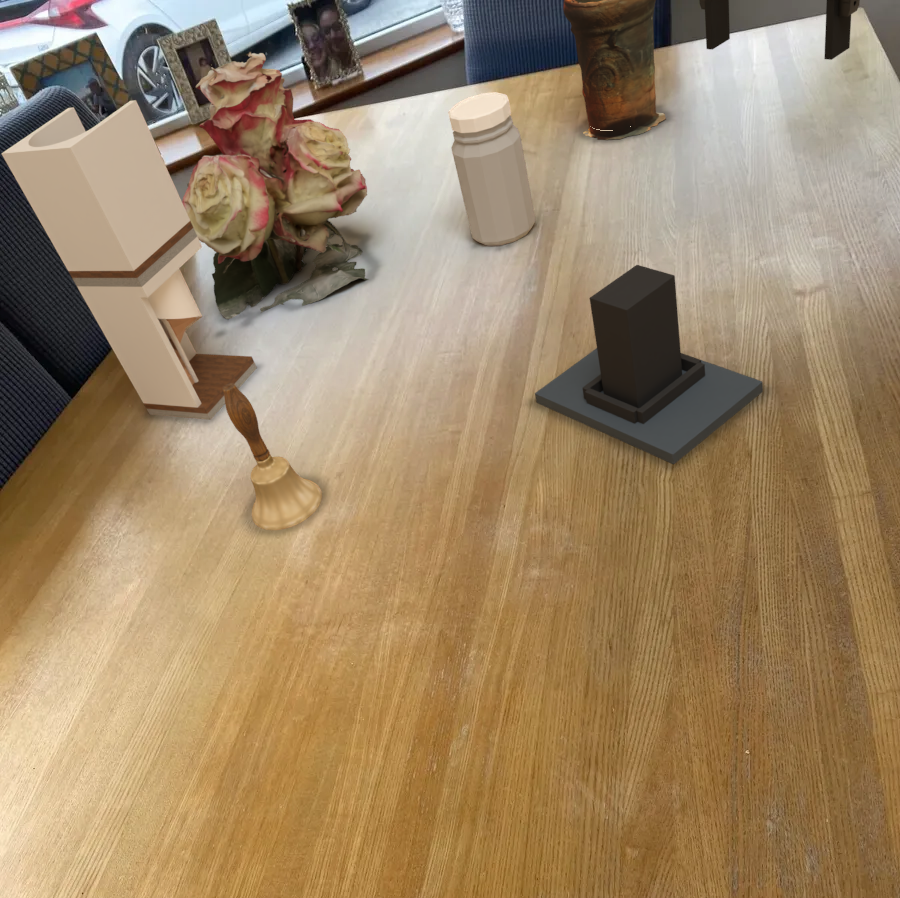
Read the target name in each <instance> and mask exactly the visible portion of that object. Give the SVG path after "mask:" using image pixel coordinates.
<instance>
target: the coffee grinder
mask: <svg viewBox="0 0 900 898" xmlns="http://www.w3.org/2000/svg"><path fill="white" fill-rule="evenodd" d="M1 155H2V157H3V159H4V161H5V163H6V165H7V166H8V167H9V170H10V172H11V173H12V175H13V176H14V178H15V180H16V182H17V183H18V186H19V187H20V190H21V191H22V192H23V194H24V196H25V198H26V200H27V201H28V203H29V205H30V207H31V208H32V210H33V212H34V213H35V216H36V217H37V219H38V220H39V223H40V224H41V226H42V228H43V229H44V231H45V233H46V234H47V236H48V238H49V240H50V242H51V243H52V245H53V247H54V249H55V250H56V253H57V254H58V256H59V257H60V260H61V261H62V263H63V264H64V266H65V268H66V270H67V271H68V273H69V275H70V277H71V279H72V281H73V282H74V284H75V285H76V288H77V289H78V291H79V293H80V294H81V296H82V298H83V300H84V302H85V303H86V305H87V307H88V309H89V310H90V312H91V314H92V316H93V317H94V319H95V321H96V322H97V324H98V326H99V328H100V329H101V331H102V333H103V335H104V337H105V339H106V340H107V342H108V344H109V346H110V348H111V349H112V350H113V352H114V354H115V356H116V358H117V360H118V361H119V363H120V365H121V366H122V368H123V370H124V372H125V374H126V375H127V377H128V379H129V381H130V382H131V384H132V386H133V387H134V389H135V391H136V394H137V395H138V396H139V398H140V400H141V402H142V404H143V405H144V407H145V409H146V411H147V413H148V414H149V415H151V416H160V417H161V416H162V417H174V418H185V419H194V420H195V419H197V420H207V421H212V419H213V418H214V417H215V416H216V415H217V414H218V412H219V411H220V410H221V409H222V408H223V407H224V406H225V397H224V392H223V387H224V386H225V385H227V384H229V383H233V384H235V386H236V387H237V388H238V389H239V390H240V388H241V387H242V385H243V384H245V382H246V381H247V380H248V379H249V378H250V377H251V376H252V374H253V373H254V372H255V371H256V370H257V369H258V367H257V365H256V363H255V361H254V358H253V356H251V355H232V354H231V355H228V354H212V353H211V354H208V353H197V352H196V349H195V348H194V345H193V344H192V342H191V340H190V338H189V336H188V334H187V332H186V331H187V330H188V329H189V328H190V327H192V326H193V325H194V324H195V323H197V322H198V321H199V320H200V319H201V318H203V315H202V313H201V310H200V309H199V306H198V304H197V302H196V300H195V297H194V296H193V294H192V291H191V290H190V288H189V286H188V284H187V281H186V279H185V277H184V274H183V273H182V271H181V267H182V266H184V265H185V264H186V262H188V261H189V260H190V259H191V258H192V257H194V255H195V254H196V253H198V252H199V251H200V250H201V249H202V248H203V246H202V242H201V241H200V240H199V239H198V236H197V234H196V232H195V230H194V228H193V225H192V223H191V221H190V219H189V217H188V214H187V212H186V210H185V208H184V205H183V203H182V199H181V197H180V194H179V192H178V190H177V188H176V186H175V184H174V181H173V179H172V177H171V175H170V172H169V171H168V170H169V169H168V168H167V165H166V164H165V162H164V159H163V157H162V155H161V152H160V151H159V148H158V146H157V144H156V141H155V139H154V137H153V134H152V132H151V130H150V129H149V126H148V124H147V122H146V119H145V117H144V114H143V113H142V111H141V108H140V106H139V104H138V101H137V100H136V99H135V100H129V101H128V102H127V103H125V104H124V105H123V106H120V107H119V108H118V109H117V110H116V111H114V112H112V113H111V114H110V115H108V116H107V117H105V118H104V119H102V121H100V122H98V123H97V124H96V125H94V126H93V127H91V128H90V129H87V130H86V129H85V127H84V125H83V123H82V121H81V119H80V117H79V115H78V114H77V111H76V109H75V107H74V106H73V107H67V108H65V110H63V111H62V112H60V113H58V114H57V115H56V116H54V117H52V119H50V120H48V121H47V122H46V123H44V124H43V125H41V126H40V127H38V128H37V129H35V130H34V131H32V132H31V133H30V134H27V136H25V137H24V138H22V139H21V140H19V141H18V142H16V143H15V144H13V145H11V146H10V147H9V148H7V149H6V150H4V151H3V152H2V153H1Z"/></svg>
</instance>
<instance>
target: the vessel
mask: <svg viewBox="0 0 900 898" xmlns="http://www.w3.org/2000/svg"><path fill="white" fill-rule="evenodd" d="M656 1H657V0H563V8H562V9H563V14H564V17H565V19H567V20H568V22H569V23H570V25H571V27H570V32H571V33H572V34H573V36H574V40H575V47H576V54H577V61H578V64H579V68H580V73H581V82H582V88H581V89H582V91H581V93H582V97H583V100H584V106H585V111H586V117H587V122H588V129H587V130H586V131H583V132H582V133H583V135H585V136H586V137H590V138H596V139H597V140H606V141H609V140H622V139H624V138H626V137H632V136H638V135H642V134H645V133H646V132H648V131H650V130H652V128H651V127H656V126H658V125H659V123H661V122H663V121H664V120H666V119H667V117H666V114H665V113H663V112H657V105H656V103H657V101H656V100H657V99H656V96H657V95H656V82H655V81H656V79H655V75H656V74H655V73H656V67H655V66H656V65H655V64H656V63H655V33H654V15H655V7H656ZM590 126H591V127H590ZM630 126H631V127H630ZM592 127H593V128H595V129H593V128H592ZM596 129H600V130H613V131H600V130H596Z"/></svg>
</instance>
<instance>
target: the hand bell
mask: <svg viewBox="0 0 900 898" xmlns="http://www.w3.org/2000/svg"><path fill="white" fill-rule="evenodd" d="M223 392H224V397H225V404H224V406H225V409H226V410H225V411H226V413H227V416H228V417H229V420H230V421H231V423H232V424H233V427H234V428H235V429H236V431H237V432H238V433H239V434H240V435H242V437H243V438H244V439H245V440H246V442H247V445H248V447H249V448H250V451H251V453H252V455H253V458H254V460H255V462H256V465H254V467H253V468H252V470H251V472H250V480H251V483H252V486H253V489H254V493H255V501H254V503H253V505H252V508H251V520H252V522H253V523H254V524H255V525H256V526H257V527H258V528H260V529H263V530H267V531H280V530H281V531H282V530H285V529H289V528H292V527H295V526H297V525H299V524H301V523H303V522H304V521H305V520H307V519H309V517H311V516H312V515H313V514H314V513H315V512H316V511H317V510H318V508H319V507H320V506H321V503H322V500H323V491H322V489H321V488H320V486H319V485H318V484H317V483H316V482H314V481H312V480H310V479H307V478H304V477H301V476H300V475H299V474H298V473H297V472H296V471H295V469H294V468H293V467H292V466H291V464H290V462H289V461H288V460H287V459H286V458H284V457H282V456H272V455H271V453H270V450H269V449H268V447H267V445H266V443H265V442H264V440H263V438H262V435H261V433H260V428H259V422H258V421H259V420H258V417H257V414H256V412H255V409H254V406H253V405H252V403H251V401H250V399H248V398H247V397H246V395H245V394H244V393H243V392H242V391H241V390H240V388H239V389H238V388H237V387H236V386H235V384H233V383H229V384H227V385H225V386H224V387H223Z"/></svg>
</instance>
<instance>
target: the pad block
mask: <svg viewBox="0 0 900 898" xmlns="http://www.w3.org/2000/svg"><path fill="white" fill-rule="evenodd" d="M677 301H678V300H677V287H676V276H675V275H674V274H671V273H668V272H664V271H661V270H657V269H654V268H651V267H646V266H644V265H640V264H636V265H634V266H633V267H632V268H630V269H628V270H627V271H625V272H624V273H623V274H622V275H620V276H618V277H617V278H616V279H614V280H613V281H612V282H610V283H609V284H607V285H605V286H604V287H603V288H601V289H600V290H598V291H597V292H596V293H594V294H592V295H591V296H590V297H589V303H590V311H591V317H592V323H593V324H592V325H593V331H594V336H595V337H594V339H595V343H596V348H597V351H598V358H599V365H600V372H601V378H602V385H603V392H604V394H605V395H607V396H610V397H612V398H615V399H617V400H620V401H622V402H624V403H627V404H629V405H632V406H634V407H636V408H638V409H639V408H640V407H642V406H643V405H644V404H646V403H647V402H648V401H649V400H651V399H652V398H653V397H655V396H656V395H657V394H658V393H660V392H661V391H662V390H664V389H665V388H666V387H667V386H669V385H670V384H671V383H673V382H674V381H675V380H676V379H678V378H679V377H680V376H682V364H681V353H682V352H681V339H680V329H679V328H680V327H679V325H680V324H679V314H678V302H677Z"/></svg>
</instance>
